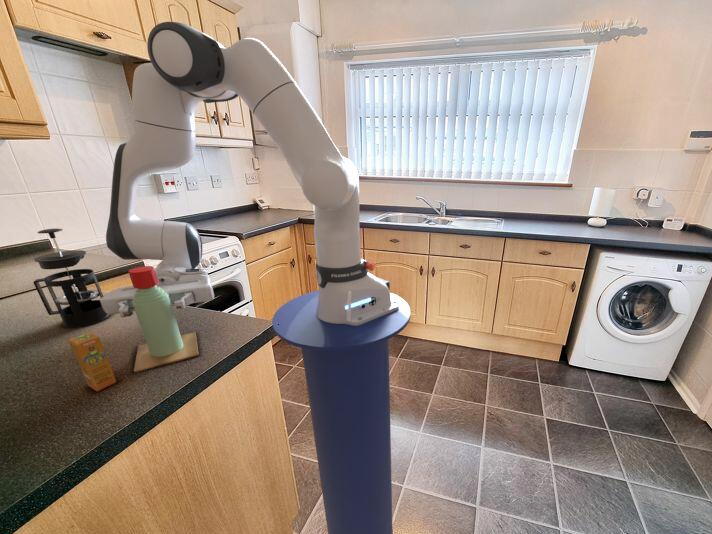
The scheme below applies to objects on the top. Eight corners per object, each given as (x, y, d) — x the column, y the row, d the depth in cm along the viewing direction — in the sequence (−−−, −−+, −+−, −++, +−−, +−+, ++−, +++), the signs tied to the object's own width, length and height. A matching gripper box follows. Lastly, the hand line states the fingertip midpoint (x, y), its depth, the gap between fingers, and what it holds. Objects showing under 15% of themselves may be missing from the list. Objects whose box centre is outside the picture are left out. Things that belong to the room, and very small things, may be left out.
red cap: (158, 280, 69) (154, 264, 67) (158, 286, 65) (153, 270, 64) (134, 284, 67) (129, 268, 65) (133, 290, 64) (127, 273, 62)
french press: (117, 307, 92) (85, 223, 83) (110, 321, 85) (74, 230, 75) (61, 317, 87) (19, 228, 78) (48, 332, 79) (1, 236, 70)
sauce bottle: (183, 339, 76) (161, 265, 69) (183, 351, 71) (160, 273, 64) (151, 347, 73) (124, 270, 66) (149, 360, 68) (120, 278, 61)
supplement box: (97, 392, 60) (74, 344, 56) (88, 386, 61) (66, 339, 57) (118, 382, 62) (98, 335, 58) (109, 376, 64) (90, 330, 60)
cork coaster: (195, 333, 79) (195, 332, 79) (198, 355, 70) (198, 354, 70) (138, 346, 74) (138, 345, 73) (134, 372, 65) (133, 370, 65)
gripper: (110, 279, 74) (81, 303, 62) (213, 267, 81) (205, 287, 69) (119, 304, 77) (94, 332, 65) (219, 292, 83) (212, 315, 72)
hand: (152, 309), depth 67 cm, fingers open, 8 cm apart
